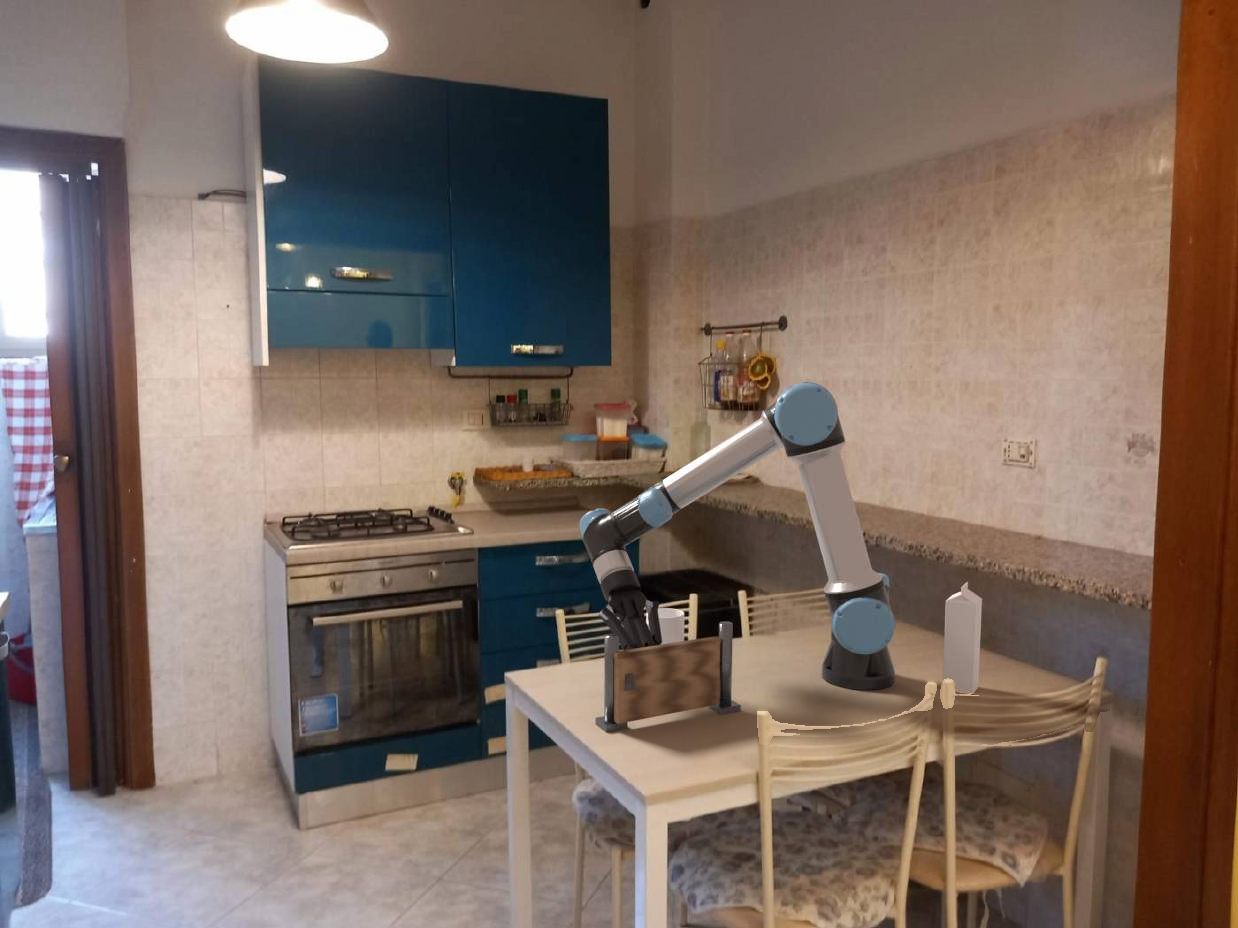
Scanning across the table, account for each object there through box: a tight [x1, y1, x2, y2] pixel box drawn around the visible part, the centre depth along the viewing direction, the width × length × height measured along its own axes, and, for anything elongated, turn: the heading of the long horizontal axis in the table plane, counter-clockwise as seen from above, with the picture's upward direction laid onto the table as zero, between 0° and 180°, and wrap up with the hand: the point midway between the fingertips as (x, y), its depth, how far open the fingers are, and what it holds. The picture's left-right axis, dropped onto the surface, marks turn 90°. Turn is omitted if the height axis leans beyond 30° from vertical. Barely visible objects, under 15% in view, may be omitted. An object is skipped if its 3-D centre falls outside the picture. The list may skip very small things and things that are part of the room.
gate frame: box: [594, 621, 742, 733], centre depth 176 cm, size 28×7×17 cm, turn 118°
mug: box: [645, 607, 685, 645], centre depth 211 cm, size 9×12×11 cm
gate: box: [613, 635, 721, 724], centre depth 174 cm, size 22×2×13 cm, turn 118°
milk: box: [942, 581, 983, 694], centre depth 192 cm, size 6×6×22 cm
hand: (657, 682), depth 177 cm, fingers closed
